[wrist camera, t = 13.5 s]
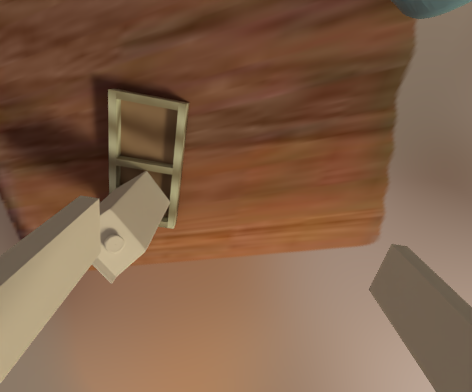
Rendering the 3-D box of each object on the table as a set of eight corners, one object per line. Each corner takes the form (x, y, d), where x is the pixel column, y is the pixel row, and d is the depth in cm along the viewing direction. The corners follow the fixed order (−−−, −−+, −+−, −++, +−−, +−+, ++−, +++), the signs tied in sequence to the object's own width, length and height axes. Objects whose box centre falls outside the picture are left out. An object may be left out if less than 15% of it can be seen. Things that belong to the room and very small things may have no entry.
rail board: (116, 88, 43) (108, 89, 40) (189, 102, 44) (186, 104, 41) (116, 211, 52) (109, 219, 49) (176, 220, 53) (173, 228, 50)
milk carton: (139, 219, 49) (89, 294, 32) (114, 188, 46) (45, 253, 29) (170, 202, 48) (135, 271, 30) (147, 169, 45) (93, 225, 28)
